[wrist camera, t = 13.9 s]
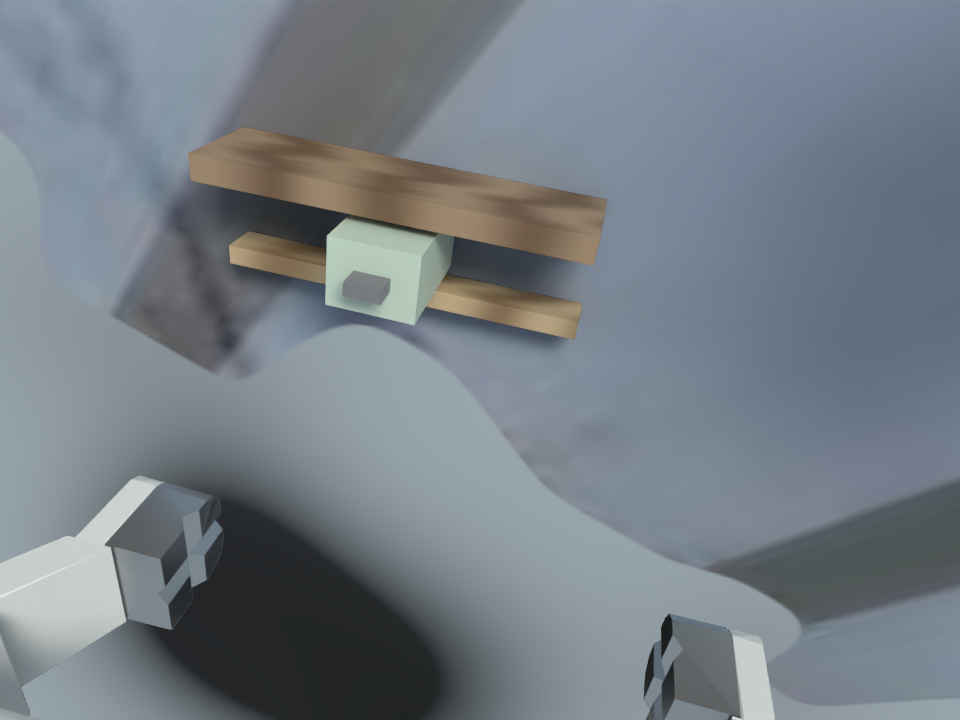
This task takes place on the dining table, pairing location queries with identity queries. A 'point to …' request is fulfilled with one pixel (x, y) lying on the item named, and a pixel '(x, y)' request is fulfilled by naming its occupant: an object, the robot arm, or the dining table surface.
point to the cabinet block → (384, 267)
